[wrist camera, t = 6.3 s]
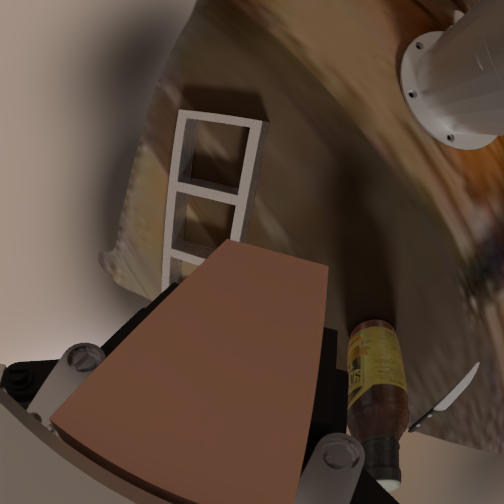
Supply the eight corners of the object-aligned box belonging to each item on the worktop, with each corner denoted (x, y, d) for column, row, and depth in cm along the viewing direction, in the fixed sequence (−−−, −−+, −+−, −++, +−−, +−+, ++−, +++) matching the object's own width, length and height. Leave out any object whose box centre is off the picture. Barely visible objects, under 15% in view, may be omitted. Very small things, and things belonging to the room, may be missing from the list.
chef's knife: (494, 355, 29) (483, 351, 29) (496, 360, 28) (486, 356, 28) (418, 430, 37) (406, 429, 37) (419, 435, 36) (407, 434, 36)
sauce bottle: (347, 318, 33) (337, 473, 15) (398, 314, 31) (424, 465, 13) (348, 359, 35) (335, 500, 17) (394, 355, 33) (405, 496, 15)
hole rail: (192, 111, 29) (178, 109, 26) (269, 122, 27) (262, 120, 24) (172, 294, 38) (161, 305, 36) (232, 315, 37) (223, 329, 34)
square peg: (227, 238, 13) (49, 418, 4) (328, 266, 12) (287, 526, 3) (215, 319, 14) (100, 489, 5) (300, 345, 14) (243, 549, 5)
